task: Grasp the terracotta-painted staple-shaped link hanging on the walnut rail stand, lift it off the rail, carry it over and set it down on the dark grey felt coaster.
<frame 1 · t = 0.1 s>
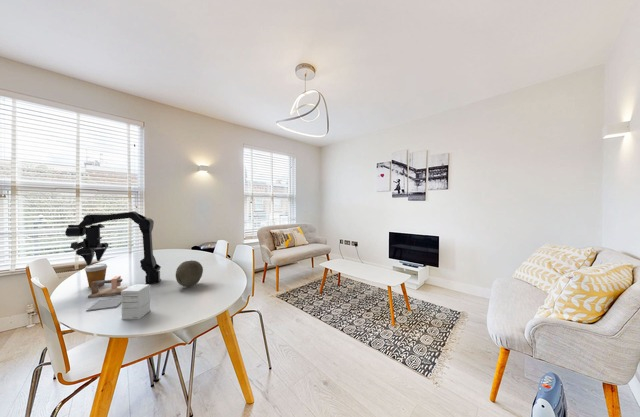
hand: (93, 263, 126), 15 cm above the table, fingers open, 9 cm apart
link: (116, 287, 122), point 3 cm above the table, touching stand
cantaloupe: (189, 286, 132), on the table
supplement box: (136, 315, 99), on the table
stand: (111, 292, 121), on the table
disposable coffee cup: (96, 286, 130), on the table
coaster: (107, 304, 108), on the table
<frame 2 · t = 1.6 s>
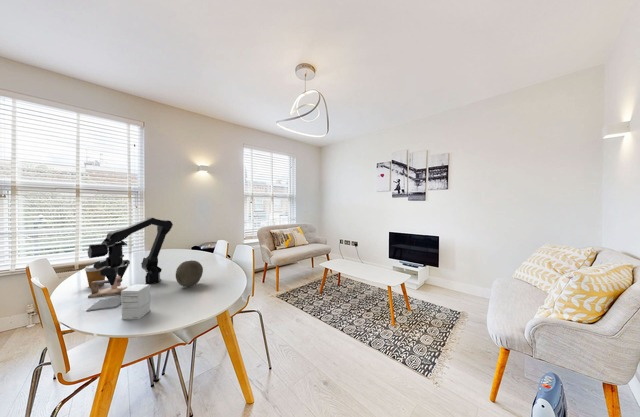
hand: (116, 282, 122), 6 cm above the table, fingers open, 9 cm apart
nothing on the table moved.
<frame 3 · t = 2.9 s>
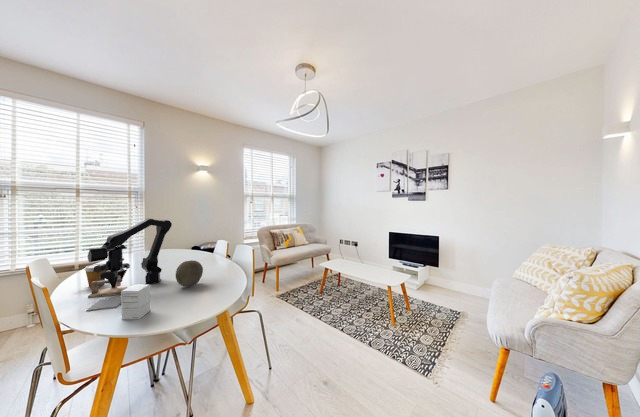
hand: (116, 285, 122), 4 cm above the table, fingers closed on link, 5 cm apart
link: (116, 287, 122), point 3 cm above the table, touching gripper, stand
everything else where it was.
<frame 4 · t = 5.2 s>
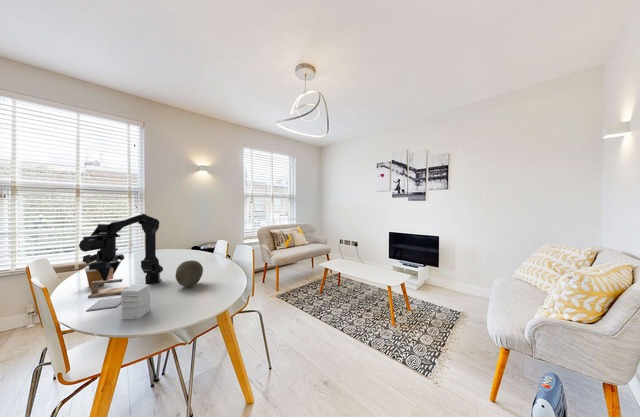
hand: (108, 278, 110), 12 cm above the table, fingers closed on link, 5 cm apart
link: (107, 280, 110), point 11 cm above the table, touching gripper
everything else where it was.
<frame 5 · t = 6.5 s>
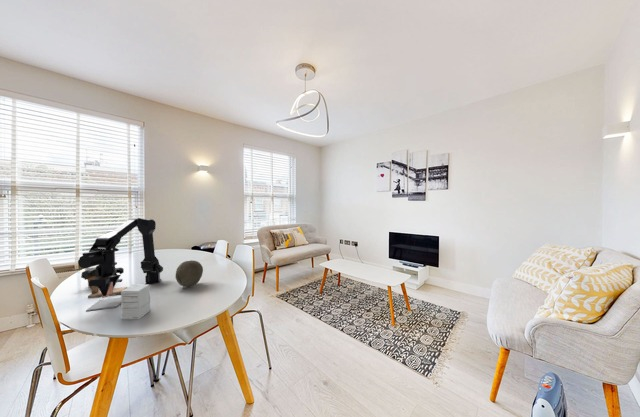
hand: (107, 293, 108), 5 cm above the table, fingers closed on link, 5 cm apart
link: (107, 295, 108), point 4 cm above the table, touching gripper
everything else where it was.
when the fingers open (3 cm above the table, at t = 7.8 s): link drops 1 cm, resting on coaster.
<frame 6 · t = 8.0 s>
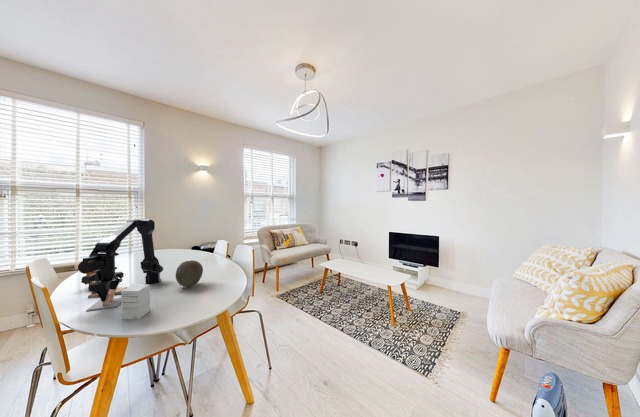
hand: (107, 298, 108), 3 cm above the table, fingers open, 7 cm apart
link: (107, 302, 108), point 1 cm above the table, tilted 7°, touching coaster
everything else where it was.
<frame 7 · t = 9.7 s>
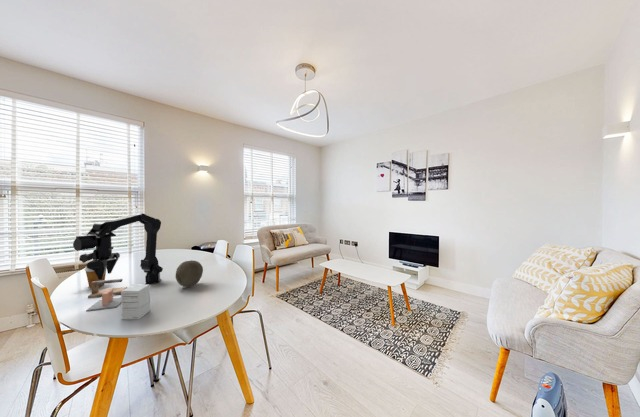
hand: (105, 276, 113), 12 cm above the table, fingers open, 9 cm apart
link: (107, 302, 108), point 1 cm above the table, touching coaster
everything else where it was.
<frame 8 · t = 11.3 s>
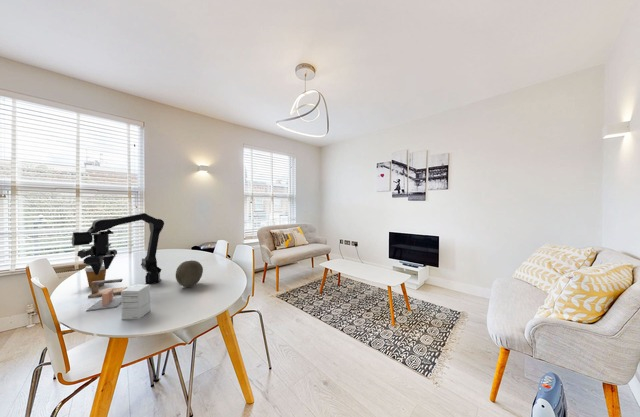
hand: (101, 271, 118), 13 cm above the table, fingers open, 9 cm apart
nothing on the table moved.
at the end: link inside the target area on the coaster (0.1 cm from its centre), point 0.6 cm above the coaster's base; link touching coaster; the gripper is holding nothing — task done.
